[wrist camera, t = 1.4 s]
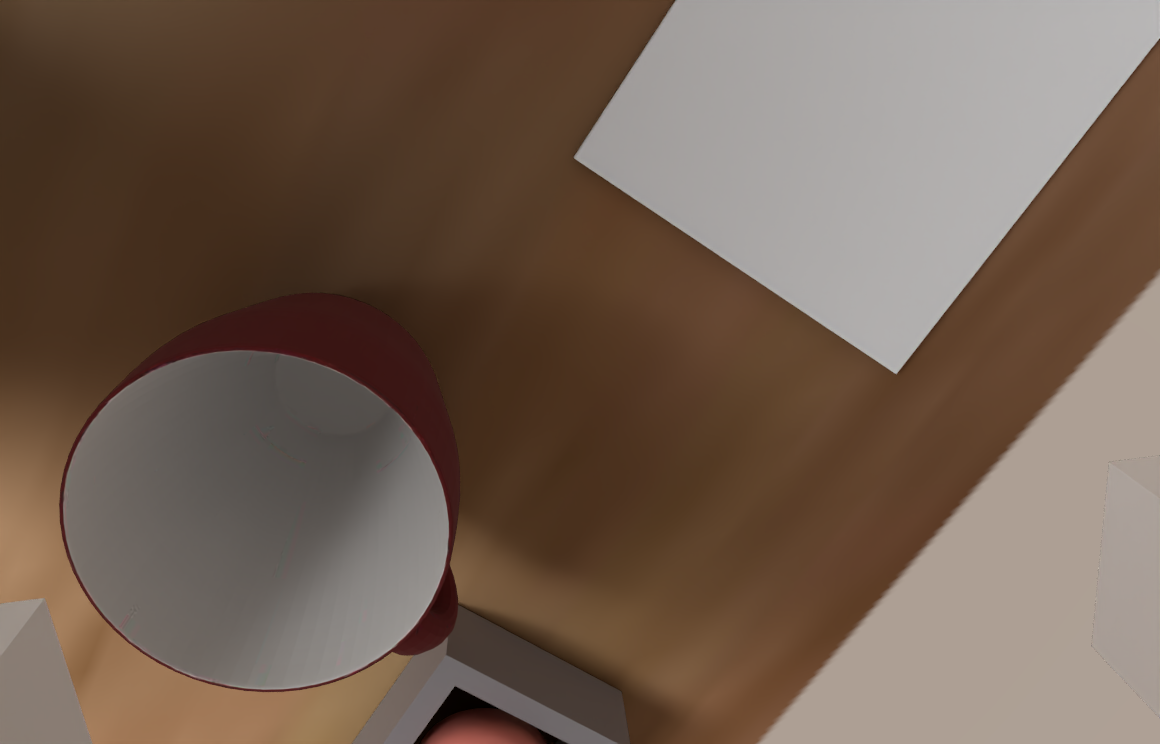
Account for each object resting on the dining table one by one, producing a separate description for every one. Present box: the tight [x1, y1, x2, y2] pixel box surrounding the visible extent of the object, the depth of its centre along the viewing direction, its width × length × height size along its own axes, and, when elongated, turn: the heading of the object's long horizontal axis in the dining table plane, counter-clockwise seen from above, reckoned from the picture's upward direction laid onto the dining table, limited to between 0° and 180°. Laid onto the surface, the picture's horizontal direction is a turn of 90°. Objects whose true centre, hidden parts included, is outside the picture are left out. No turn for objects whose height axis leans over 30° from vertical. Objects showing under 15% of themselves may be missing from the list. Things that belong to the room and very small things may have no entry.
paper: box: [574, 0, 1160, 374], centre depth 28 cm, size 16×12×1 cm
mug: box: [59, 293, 460, 692], centre depth 26 cm, size 10×8×10 cm
